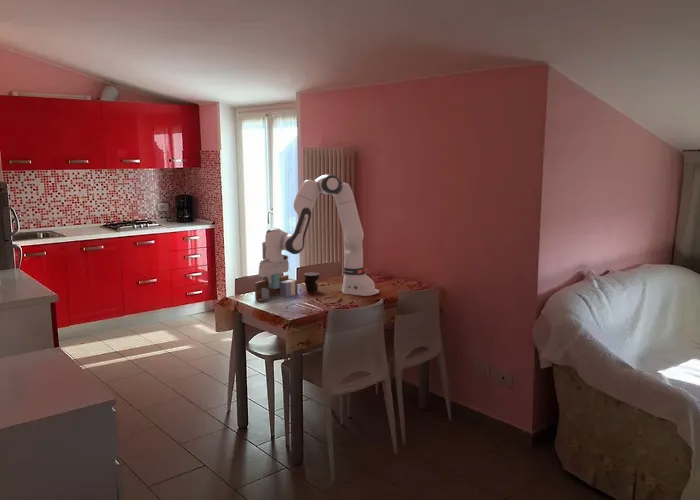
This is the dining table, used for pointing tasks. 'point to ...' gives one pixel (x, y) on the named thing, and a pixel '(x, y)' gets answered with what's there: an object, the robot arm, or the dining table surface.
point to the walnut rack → (271, 291)
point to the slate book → (285, 289)
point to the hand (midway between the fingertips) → (274, 282)
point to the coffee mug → (311, 281)
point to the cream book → (292, 287)
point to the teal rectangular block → (274, 281)
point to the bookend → (264, 296)
